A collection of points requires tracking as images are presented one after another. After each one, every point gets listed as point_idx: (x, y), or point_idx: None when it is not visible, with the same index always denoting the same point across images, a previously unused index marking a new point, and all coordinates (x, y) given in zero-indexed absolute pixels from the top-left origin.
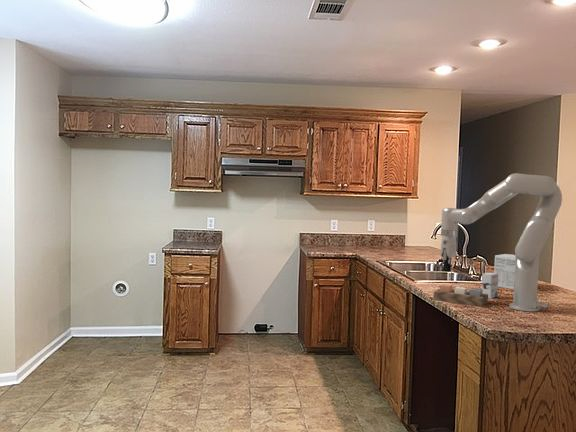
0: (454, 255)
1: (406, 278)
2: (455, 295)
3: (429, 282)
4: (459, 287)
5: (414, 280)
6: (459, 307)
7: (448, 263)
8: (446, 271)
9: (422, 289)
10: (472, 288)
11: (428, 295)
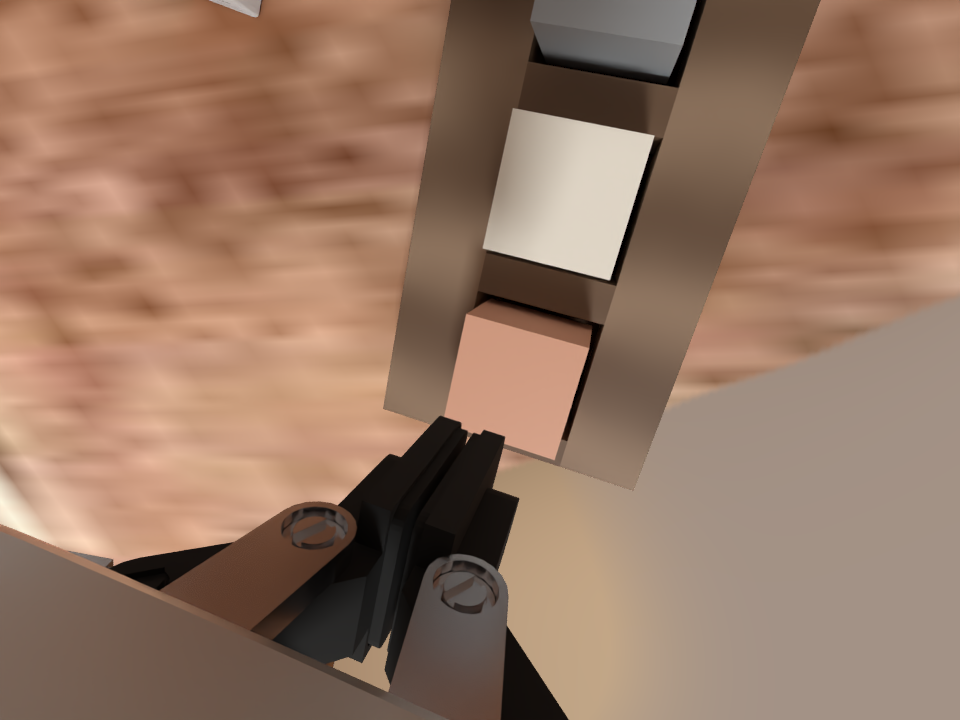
0: (63, 628)
1: None
2: (720, 253)
3: (10, 470)
4: (551, 218)
5: None
6: (935, 185)
7: (496, 588)
8: (490, 487)
9: (260, 521)
10: (572, 16)
11: None
